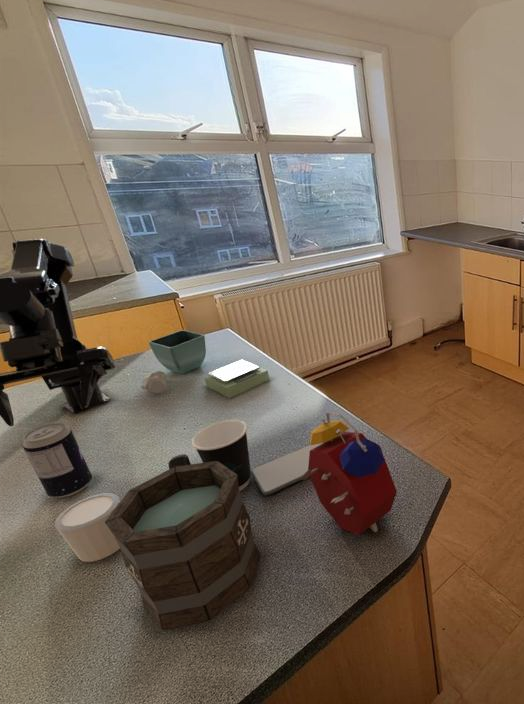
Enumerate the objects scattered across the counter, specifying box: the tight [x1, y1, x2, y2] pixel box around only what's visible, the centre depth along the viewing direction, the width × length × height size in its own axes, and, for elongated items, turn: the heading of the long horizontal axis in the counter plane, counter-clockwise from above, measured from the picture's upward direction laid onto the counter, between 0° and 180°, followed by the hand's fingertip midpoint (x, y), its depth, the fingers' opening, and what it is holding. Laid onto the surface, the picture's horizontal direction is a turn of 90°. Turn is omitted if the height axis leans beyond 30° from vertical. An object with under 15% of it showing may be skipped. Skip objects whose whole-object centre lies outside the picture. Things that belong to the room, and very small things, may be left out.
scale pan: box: [207, 359, 261, 383], centre depth 107 cm, size 8×8×1 cm
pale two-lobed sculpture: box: [141, 370, 168, 394], centre depth 104 cm, size 4×8×5 cm
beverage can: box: [22, 422, 93, 499], centre depth 72 cm, size 6×6×12 cm
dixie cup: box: [191, 419, 252, 492], centre depth 74 cm, size 8×8×11 cm
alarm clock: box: [301, 410, 398, 536], centre depth 66 cm, size 15×9×20 cm, turn 53°
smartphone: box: [250, 443, 323, 496], centre depth 81 cm, size 8×1×15 cm
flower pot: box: [147, 329, 207, 375], centre depth 112 cm, size 9×9×9 cm
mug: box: [105, 453, 261, 631], centre depth 59 cm, size 20×14×15 cm
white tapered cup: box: [54, 492, 121, 563], centre depth 63 cm, size 7×7×7 cm
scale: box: [203, 366, 270, 399], centre depth 107 cm, size 10×10×3 cm
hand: (49, 415), depth 74 cm, fingers open, 9 cm apart
